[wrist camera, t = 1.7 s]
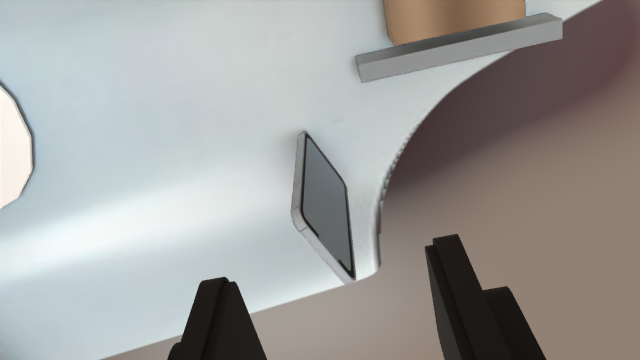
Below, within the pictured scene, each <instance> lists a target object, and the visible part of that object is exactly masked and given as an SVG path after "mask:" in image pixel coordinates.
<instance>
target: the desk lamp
mask: <svg viewBox="0 0 640 360" xmlns="http://www.w3.org/2000/svg"><path fill="white" fill-rule="evenodd" d="M32 170H33V166H32V143H31V135H30V133H29V130H28V128H27V126H26V124H25V122H24V120H23V118H22V116H21V114H20V112H19V109H18V107H17V105H16V103H15V101H14V99H13V98H12V97H11V96H10V95H9V94H8V93H7V92H6V91H5V90H4V89H3V88H2V87H1V85H0V209H1V208H2V207H4V206H5V205H7V204H8V203H10V202H11V201H13V200H15V199H16V198H18V197H19V196H20V194H21V192H22V190H23V188H24V186H25V184H26V182H27V180H28V178H29V176H30V174H31V172H32Z"/></svg>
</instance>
